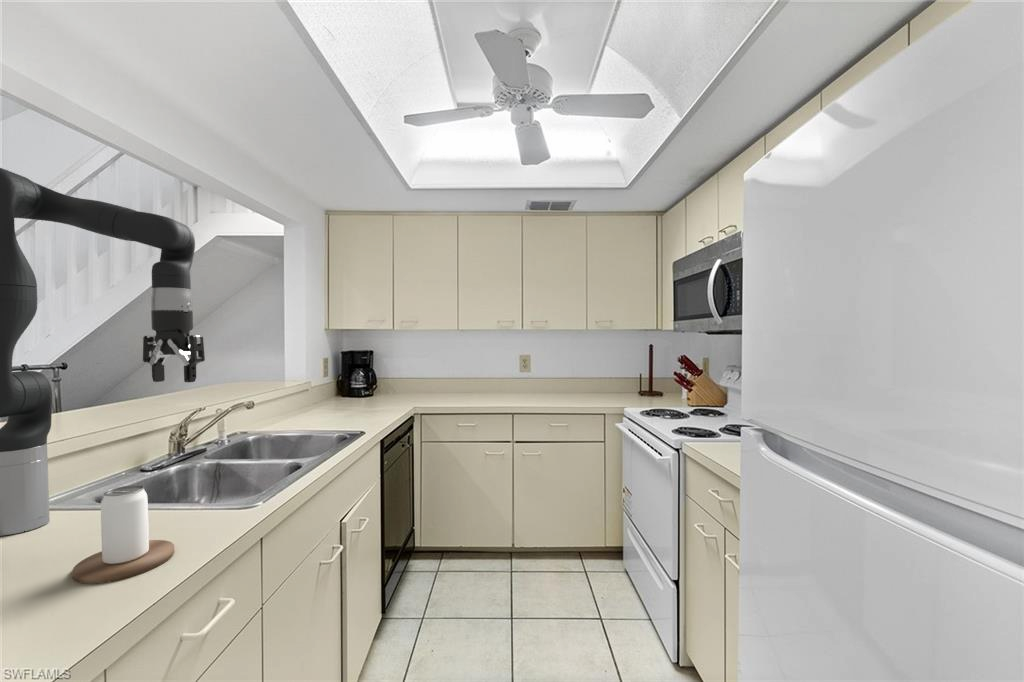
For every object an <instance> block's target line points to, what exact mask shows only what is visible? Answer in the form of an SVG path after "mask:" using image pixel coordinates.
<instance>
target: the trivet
mask: <svg viewBox="0 0 1024 682" xmlns="http://www.w3.org/2000/svg"><path fill="white" fill-rule="evenodd" d="M173 554H174V555H175V544H174V543H173V542H171V541H168V540H164V539H149V550H148V552H147V553H146V554H145V555H144V556H142V557H140V558H138V559H136V560H134V561H130V562H127V563H122V564H115V565H110V564H106V563H105V562H103V560H102V550H101V551H99V552H96V553H94V554H92V555H89V556H88V557H86V558H84V559H82V560H80V561H79V562H78V563H76V564H75V565H74V567H73V568H72V570H71V571H72V574H71V575H72V579H74V580H75V581H74V580H73V581H74V582H76V581H77V582H76V583H79V582H82V583H81V584H85V583H95V584H100V583H99V582H105V583H109V582H108V581H112V582H116V581H115V580H117V581H120V579H121V580H124V579H129V578H132V577H136V576H138V575H141V574H144V573H146V572H149V571H151V570H154V569H156V568H158V567H160V566H161V565H163V564H165V563H166V562H168V561H169V560H170V559H171V558H172V557H173V556H174V555H173Z"/></svg>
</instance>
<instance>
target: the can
mask: <svg viewBox="0 0 1024 682" xmlns="http://www.w3.org/2000/svg"><path fill="white" fill-rule="evenodd" d="M148 501H149V500H148V494H147V492H146V490H145V485H142V484H133V485H132V484H131V485H124V486H123V485H122V486H118V487H115V488H111V489H108V490H106V491H105V492H104V493H103V497H102V499H101V501H100V528H101V529H100V533H101V534H100V535H101V551H102V560H103V562H105V563H106V564H110V565H115V564H122V563H127V562H130V561H134V560H136V559H138V558H140V557H142V556H144V555H145V554H146V553H147V552H148V550H149V540H150V536H149V535H150V534H149V532H150V531H149V504H148V503H149V502H148Z"/></svg>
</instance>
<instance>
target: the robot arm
mask: <svg viewBox="0 0 1024 682" xmlns="http://www.w3.org/2000/svg"><path fill="white" fill-rule="evenodd" d="M15 219H26V220H37V221H45V222H46V221H47V222H53V223H58V224H65V225H69V226H72V227H75V228H78V229H83V230H85V231H89V232H92V233H95V234H99V235H103V236H105V237H110V238H115V239H118V240H123V241H127V242H128V241H129V242H137V243H139V244H142V245H146V246H150V247H153V248H156V249H160V257H159V261H157V262H155V263H154V264H152V268H151V295H150V313H151V314H150V315H151V316H150V317H151V318H150V319H151V330H152V331H154V332H155V335H144V336H143V338H142V339H143V340H142V341H143V342H142V346H143V347H142V361H143V362H144V363H147V364H149V365H150V366H151V378H152V382H153V383H158V382H159V383H160V382H164V381H165V378H166V376H165V361H166V360H167V358H169V357H171V355H172V356H175V355H176V356H177V358H179V359H180V360H181V361H182V362H183V364H184V365H183V382H184V383H194V382H195V381H196V379H197V365H198V364H199V363H203V362H205V361H206V360H205V359H206V358H205V356H206V355H205V346H204V345H205V344H204V343H205V342H204V336H203V335H201V334H191V333H190V332H191V331H192V330H193V329H194V313H193V311H194V309H193V296H192V292H191V291H192V290H191V289H192V288H191V283H192V282H191V268H192V264H193V260H194V256H195V251H196V241H195V235H194V233H193V231H192V230H191V228H190V227H188V226H187V225H186V224H185V223H182V222H180V221H177V220H175V219H173V218H171V217H168V216H164V215H160V214H156V213H150V212H145V211H138V210H136V209H134V208H133V209H132V208H129V207H125V206H121V205H118V204H114V203H109V202H105V201H101V200H96V199H95V200H94V199H87V198H79V197H75V196H70V195H67V194H63V193H60V192H58V191H55V190H53V189H50V188H49V187H45V186H44V185H41V184H40V183H39V184H38V183H36V182H34V181H32V180H31V179H29V178H27V177H26V176H23V175H20V174H17V173H15V172H12V171H10V170H8V169H5V168H2V167H0V418H6V417H7V420H6V423H5V424H4V425H3V426H2V427H0V536H1V537H2V536H8V535H9V536H10V535H15V534H19V533H24V531H25V532H28V531H32V530H35V529H38V528H40V527H43V526H45V525H46V524H48V523H49V522H50V519H51V518H50V488H49V485H50V484H49V459H48V435H49V434H50V431H51V428H52V415H53V414H52V413H53V411H52V409H53V390H52V386H51V383H50V380H49V379H48V378H47V377H46V375H45V374H43V373H42V372H39V371H36V370H22V371H21V370H20V371H13V358H14V357H13V356H14V350H15V347H16V346H17V344H18V343H17V342H18V341H19V339H21V337H22V335H23V334H24V332H25V331H26V330H27V328H28V327H29V326H30V324H31V323H32V322H33V319H34V317H35V316H36V313H37V311H38V284H37V278H36V275H35V273H34V271H33V270H34V269H32V267H31V264H30V263H29V260H28V259H27V257H26V255H25V254H24V252H23V251H22V248H21V247H20V244H19V242H18V240H17V235H16V229H15ZM150 352H151V354H150Z"/></svg>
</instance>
